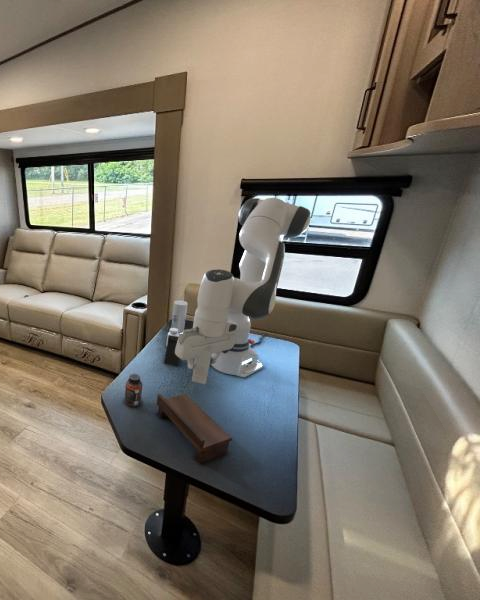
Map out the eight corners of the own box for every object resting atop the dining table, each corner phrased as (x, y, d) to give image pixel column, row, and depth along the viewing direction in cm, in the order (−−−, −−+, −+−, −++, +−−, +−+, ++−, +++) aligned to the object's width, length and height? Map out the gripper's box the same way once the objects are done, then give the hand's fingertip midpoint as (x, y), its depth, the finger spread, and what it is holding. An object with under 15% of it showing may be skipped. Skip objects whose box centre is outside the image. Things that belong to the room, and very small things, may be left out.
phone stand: (177, 366, 141) (181, 342, 136) (164, 363, 143) (166, 339, 138) (180, 356, 148) (183, 333, 144) (167, 353, 151) (170, 331, 146)
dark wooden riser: (183, 406, 116) (186, 386, 113) (229, 452, 97) (234, 429, 94) (155, 415, 112) (157, 394, 109) (197, 464, 93) (202, 441, 90)
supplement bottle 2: (179, 349, 154) (181, 331, 151) (168, 350, 154) (171, 332, 150) (174, 343, 159) (177, 326, 156) (164, 344, 159) (166, 327, 155)
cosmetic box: (193, 371, 103) (198, 338, 98) (207, 374, 101) (213, 341, 97) (191, 381, 97) (197, 347, 93) (205, 385, 96) (212, 351, 91)
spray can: (168, 335, 168) (172, 300, 161) (180, 334, 168) (185, 300, 161) (172, 340, 162) (176, 305, 155) (184, 340, 162) (189, 305, 155)
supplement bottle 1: (140, 408, 115) (142, 382, 111) (124, 406, 116) (125, 380, 112) (140, 398, 121) (143, 373, 116) (125, 395, 122) (126, 371, 118)
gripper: (188, 335, 86) (181, 378, 91) (243, 324, 93) (234, 364, 99) (173, 326, 91) (167, 366, 97) (226, 315, 99) (218, 354, 104)
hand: (201, 365), depth 98 cm, fingers closed on cosmetic box, 7 cm apart
